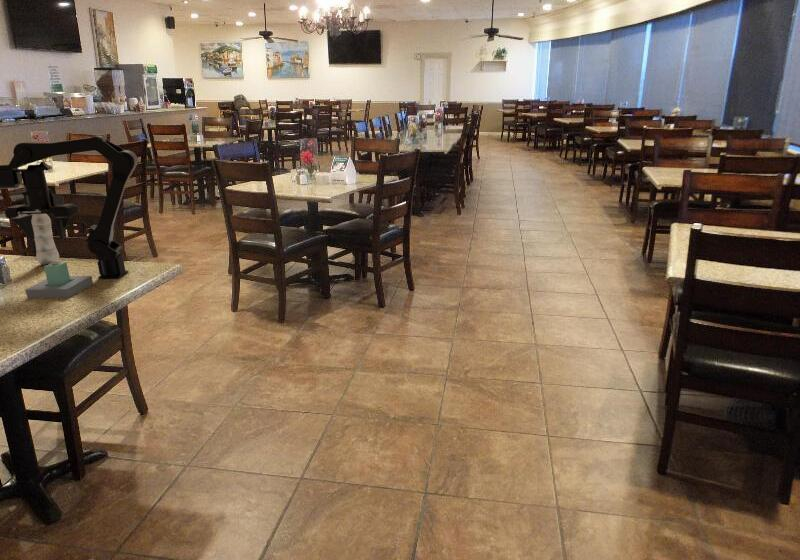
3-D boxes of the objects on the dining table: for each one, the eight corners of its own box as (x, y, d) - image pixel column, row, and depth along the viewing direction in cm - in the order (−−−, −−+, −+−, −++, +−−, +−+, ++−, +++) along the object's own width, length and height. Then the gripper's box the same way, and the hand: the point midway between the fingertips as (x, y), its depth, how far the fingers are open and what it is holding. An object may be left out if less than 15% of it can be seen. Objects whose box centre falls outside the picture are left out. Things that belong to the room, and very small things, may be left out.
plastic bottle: (65, 261, 197) (52, 202, 191) (51, 266, 190) (38, 206, 184) (47, 261, 197) (34, 203, 191) (33, 266, 191) (19, 207, 185)
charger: (72, 288, 168) (65, 260, 165) (63, 293, 164) (57, 264, 161) (58, 288, 168) (52, 260, 165) (50, 293, 164) (43, 264, 162)
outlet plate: (93, 283, 171) (91, 275, 170) (68, 297, 160) (66, 289, 159) (54, 284, 172) (52, 276, 171) (27, 298, 161) (25, 289, 160)
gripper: (83, 181, 173) (93, 232, 178) (23, 183, 174) (35, 233, 179) (60, 187, 163) (72, 241, 167) (-3, 189, 164) (10, 242, 169)
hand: (47, 239), depth 171 cm, fingers open, 9 cm apart
